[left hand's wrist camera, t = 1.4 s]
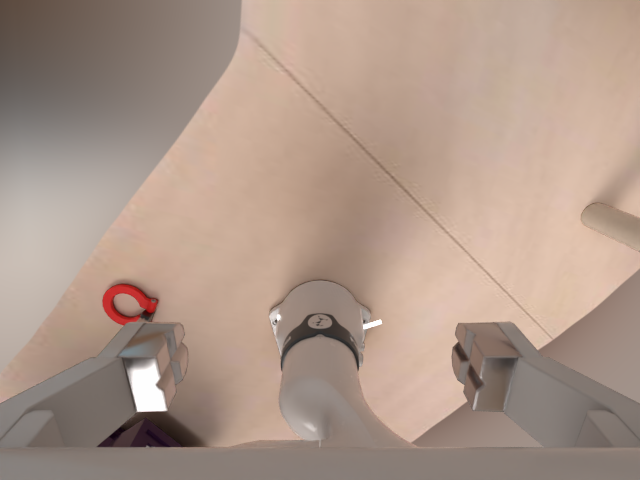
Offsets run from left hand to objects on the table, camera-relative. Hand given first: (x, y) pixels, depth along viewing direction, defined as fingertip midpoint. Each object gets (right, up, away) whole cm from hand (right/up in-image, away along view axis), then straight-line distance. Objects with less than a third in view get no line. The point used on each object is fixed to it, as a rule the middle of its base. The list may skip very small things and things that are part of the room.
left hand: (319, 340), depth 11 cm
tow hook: (-35, -9, +55) cm, 66 cm away
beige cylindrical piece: (+46, +7, +49) cm, 67 cm away
